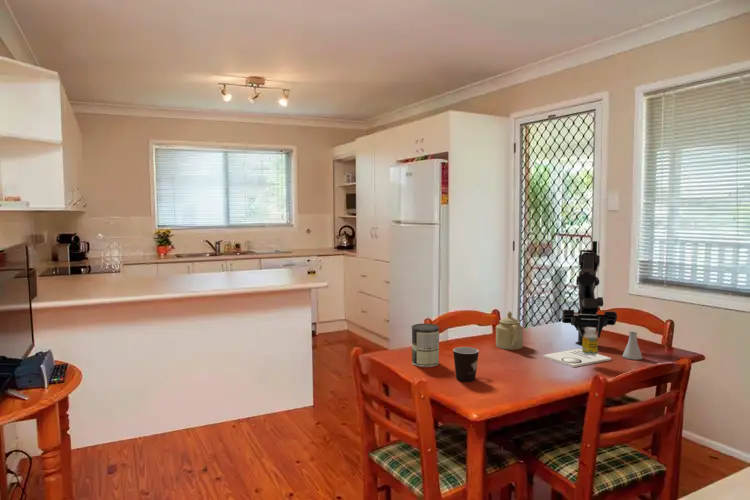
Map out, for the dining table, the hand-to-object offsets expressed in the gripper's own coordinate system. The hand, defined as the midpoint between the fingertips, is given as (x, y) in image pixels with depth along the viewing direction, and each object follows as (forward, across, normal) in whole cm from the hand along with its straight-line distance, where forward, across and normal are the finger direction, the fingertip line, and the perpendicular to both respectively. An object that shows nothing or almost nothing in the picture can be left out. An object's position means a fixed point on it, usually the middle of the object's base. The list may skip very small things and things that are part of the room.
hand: (590, 336), depth 190 cm
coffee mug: (+24, -42, -9) cm, 49 cm away
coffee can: (+14, -59, +1) cm, 61 cm away
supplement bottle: (+4, 0, +6) cm, 7 cm away
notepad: (+1, -3, +15) cm, 16 cm away
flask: (-3, +18, +20) cm, 27 cm away
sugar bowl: (-7, -27, +23) cm, 36 cm away
